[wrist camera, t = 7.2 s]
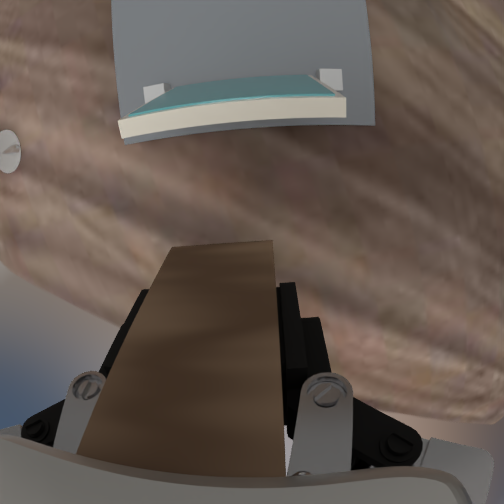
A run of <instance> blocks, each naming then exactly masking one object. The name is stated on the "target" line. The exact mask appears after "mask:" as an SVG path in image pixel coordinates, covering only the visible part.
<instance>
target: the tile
mask: <svg viewBox="0 0 504 504" xmlns="http://www.w3.org/2000/svg"><path fill="white" fill-rule="evenodd" d="M325 117H339V118H346V97H344V96H343V95H341V94H340V93H338V92H337V91H335V90H334V89H332V88H331V87H329V86H328V85H326V84H325V83H323V82H321V81H320V80H318V79H317V78H315V77H313V76H312V75H276V76H259V77H247V78H236V79H226V80H218V81H210V82H202V83H196V84H189V85H183V86H177V87H175V88H172V89H170V90H168V91H167V92H165V93H163V94H161V95H159V96H158V97H156V98H154V99H152V100H151V101H149V102H147V103H146V104H144V105H142V106H140V107H139V108H137V109H135V110H134V111H132V112H131V113H129V114H127V115H126V116H124V117H123V118H121V119H120V120H118V124H119V129H120V133H121V137H122V139H123V138H127V137H133V136H138V135H143V134H149V133H155V132H161V131H167V130H173V129H180V128H187V127H194V126H202V125H211V124H219V123H229V122H240V121H252V120H267V119H286V118H325Z"/></svg>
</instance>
